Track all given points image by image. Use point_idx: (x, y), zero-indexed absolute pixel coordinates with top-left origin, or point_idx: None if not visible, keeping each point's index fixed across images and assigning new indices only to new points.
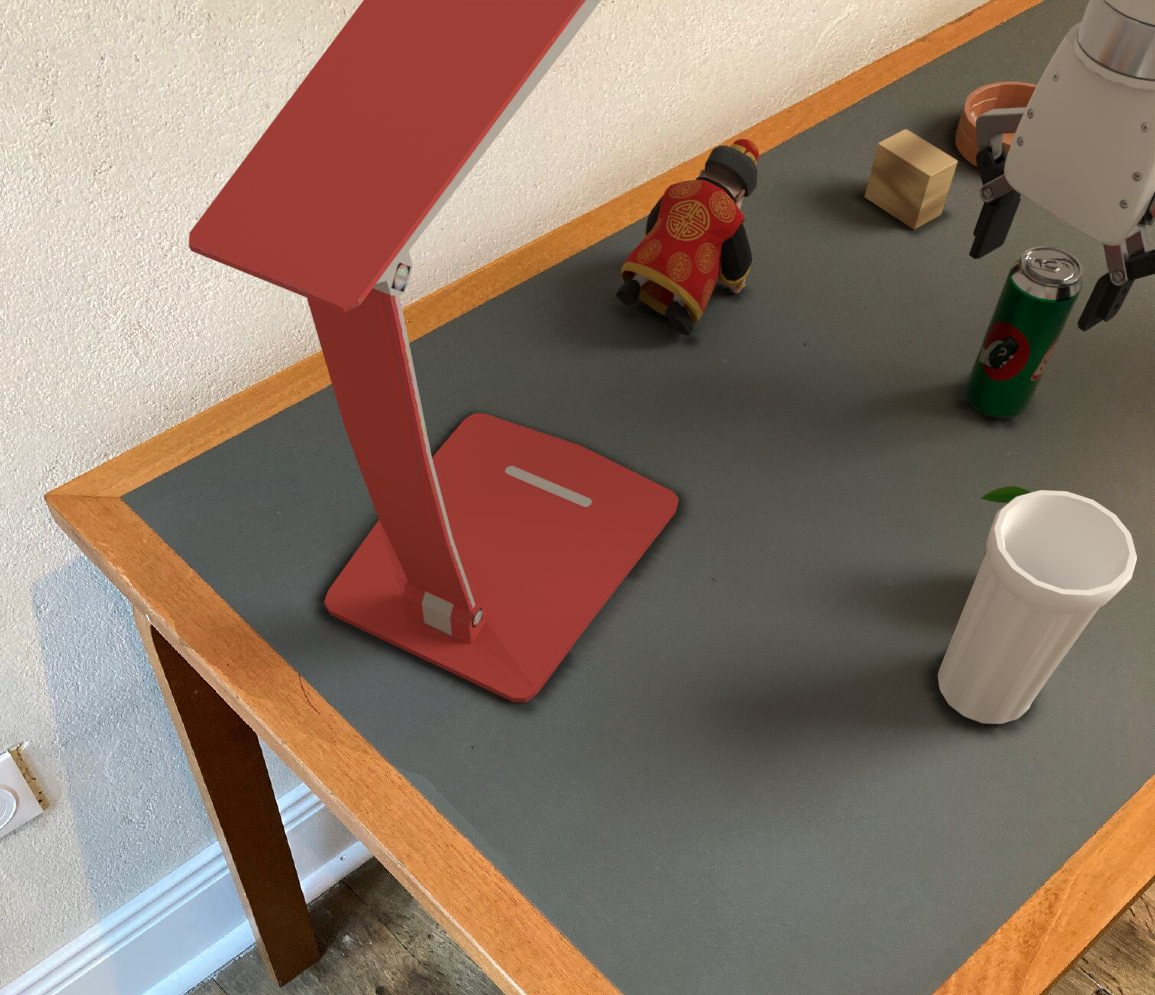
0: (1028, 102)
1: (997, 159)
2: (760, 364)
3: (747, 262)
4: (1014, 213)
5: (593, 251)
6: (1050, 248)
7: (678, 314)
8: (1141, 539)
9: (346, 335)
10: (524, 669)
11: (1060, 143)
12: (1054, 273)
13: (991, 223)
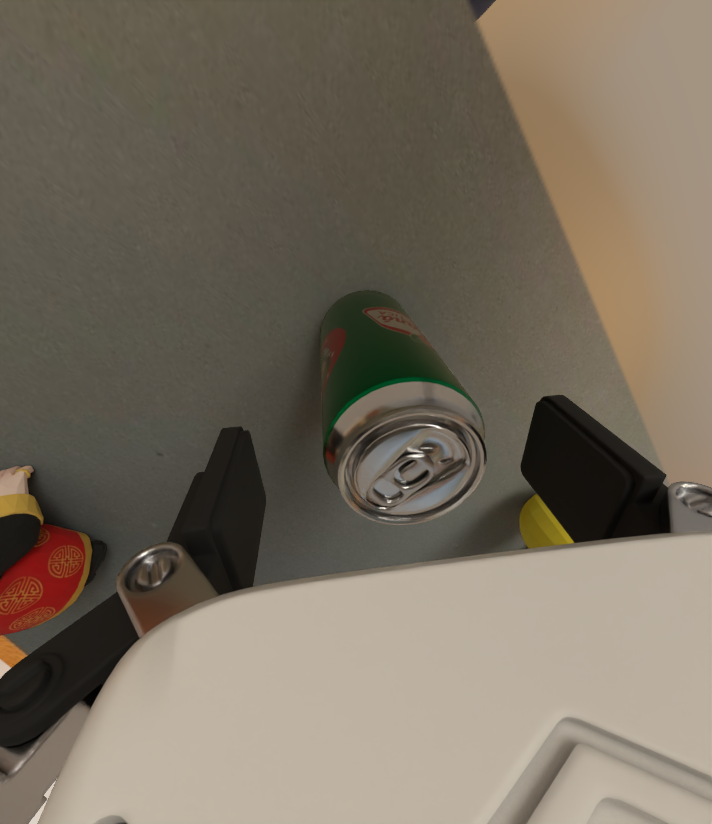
0: None
1: (89, 700)
2: (173, 503)
3: (25, 539)
4: (233, 490)
5: None
6: (367, 434)
7: (89, 578)
8: (614, 355)
9: None
10: None
11: None
12: (436, 485)
13: (254, 571)
